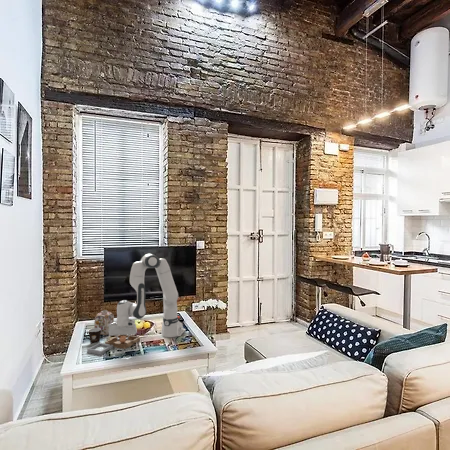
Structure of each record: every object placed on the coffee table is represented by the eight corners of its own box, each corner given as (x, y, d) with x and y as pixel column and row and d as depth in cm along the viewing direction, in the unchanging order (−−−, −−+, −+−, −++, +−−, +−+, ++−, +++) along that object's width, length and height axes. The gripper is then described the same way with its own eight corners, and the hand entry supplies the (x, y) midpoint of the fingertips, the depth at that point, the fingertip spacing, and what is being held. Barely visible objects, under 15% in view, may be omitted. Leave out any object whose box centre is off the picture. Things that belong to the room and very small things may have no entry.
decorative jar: (107, 335, 264) (107, 313, 263) (93, 334, 266) (93, 312, 265) (114, 330, 276) (114, 309, 275) (101, 329, 277) (101, 308, 277)
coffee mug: (103, 341, 251) (103, 328, 251) (96, 345, 242) (96, 332, 242) (90, 339, 254) (90, 327, 254) (83, 343, 246) (82, 330, 245)
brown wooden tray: (121, 338, 257) (121, 333, 257) (140, 341, 251) (140, 337, 250) (105, 346, 240) (105, 341, 240) (124, 350, 234) (124, 345, 234)
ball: (122, 341, 249) (122, 334, 249) (127, 342, 247) (127, 335, 247) (118, 343, 244) (118, 336, 244) (123, 344, 242) (123, 337, 242)
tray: (99, 346, 241) (99, 342, 241) (113, 348, 237) (113, 345, 237) (87, 352, 229) (87, 348, 229) (101, 355, 225) (101, 351, 225)
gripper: (107, 324, 240) (107, 342, 241) (136, 323, 243) (136, 341, 244) (109, 321, 247) (109, 339, 247) (137, 320, 250) (137, 338, 250)
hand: (122, 340), depth 245 cm, fingers closed on ball, 5 cm apart
